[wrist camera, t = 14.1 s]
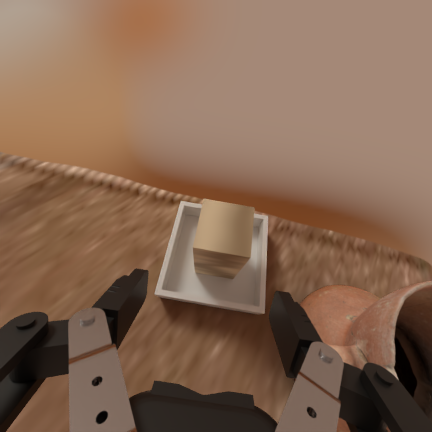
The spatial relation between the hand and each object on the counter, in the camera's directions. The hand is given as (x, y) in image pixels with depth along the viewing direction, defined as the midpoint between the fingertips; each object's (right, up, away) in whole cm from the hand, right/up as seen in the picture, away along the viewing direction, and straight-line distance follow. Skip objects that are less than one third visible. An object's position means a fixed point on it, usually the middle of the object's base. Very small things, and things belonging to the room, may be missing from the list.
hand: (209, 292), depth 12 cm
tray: (0, -1, +15) cm, 15 cm away
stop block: (0, -1, +14) cm, 14 cm away
